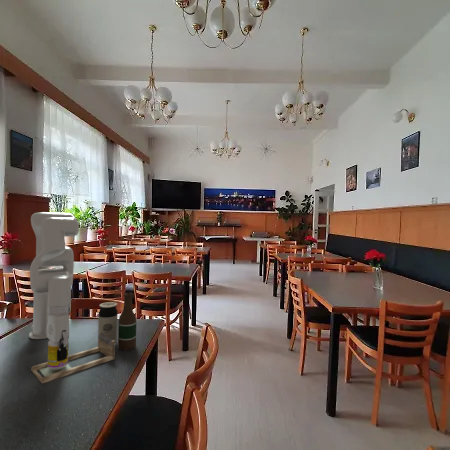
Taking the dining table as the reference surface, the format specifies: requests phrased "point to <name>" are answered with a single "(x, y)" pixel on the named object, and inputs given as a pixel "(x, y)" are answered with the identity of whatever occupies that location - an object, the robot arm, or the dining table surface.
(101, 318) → the travel mug
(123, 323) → the beer bottle
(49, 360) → the supplement bottle
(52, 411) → the dining table surface
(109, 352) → the frame
